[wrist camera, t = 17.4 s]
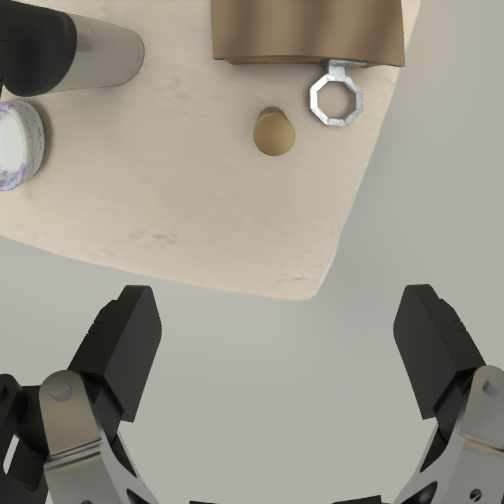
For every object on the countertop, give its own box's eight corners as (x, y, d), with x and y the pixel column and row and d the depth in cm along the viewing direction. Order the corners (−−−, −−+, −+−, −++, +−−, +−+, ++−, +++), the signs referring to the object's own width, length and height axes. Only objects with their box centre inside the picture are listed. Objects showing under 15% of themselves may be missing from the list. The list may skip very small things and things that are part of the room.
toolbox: (229, 67, 36) (211, 57, 24) (225, -25, 28) (207, -66, 16) (367, 70, 34) (409, 65, 22) (361, -20, 27) (396, -55, 15)
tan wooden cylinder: (259, 132, 40) (254, 156, 26) (258, 107, 38) (252, 116, 25) (285, 132, 40) (295, 155, 26) (285, 106, 38) (294, 116, 24)
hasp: (308, 122, 37) (318, 130, 30) (307, 61, 33) (317, 54, 26) (357, 125, 36) (377, 134, 29) (358, 64, 32) (378, 60, 25)
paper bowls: (35, 79, 35) (4, 84, 28) (68, 149, 42) (39, 162, 35) (-8, 129, 39) (-35, 139, 32) (22, 190, 46) (-4, 207, 39)
